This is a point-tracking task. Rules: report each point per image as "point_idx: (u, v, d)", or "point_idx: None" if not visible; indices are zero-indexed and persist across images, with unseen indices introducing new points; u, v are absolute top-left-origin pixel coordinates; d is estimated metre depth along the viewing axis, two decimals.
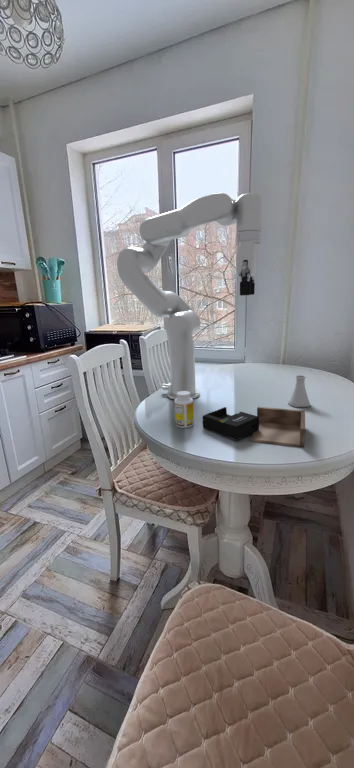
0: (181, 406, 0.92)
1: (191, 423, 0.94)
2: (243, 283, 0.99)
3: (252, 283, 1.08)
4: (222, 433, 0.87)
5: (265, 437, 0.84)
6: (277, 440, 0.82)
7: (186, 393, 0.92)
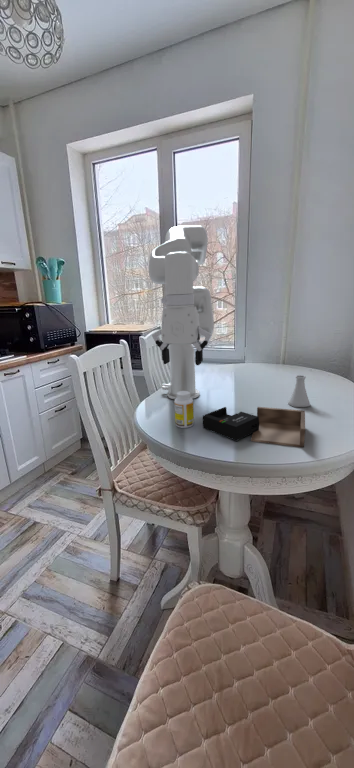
0: (181, 406, 0.92)
1: (191, 423, 0.94)
2: (201, 351, 0.87)
3: (168, 350, 0.92)
4: (222, 433, 0.87)
5: (265, 437, 0.84)
6: (277, 440, 0.82)
7: (186, 393, 0.92)
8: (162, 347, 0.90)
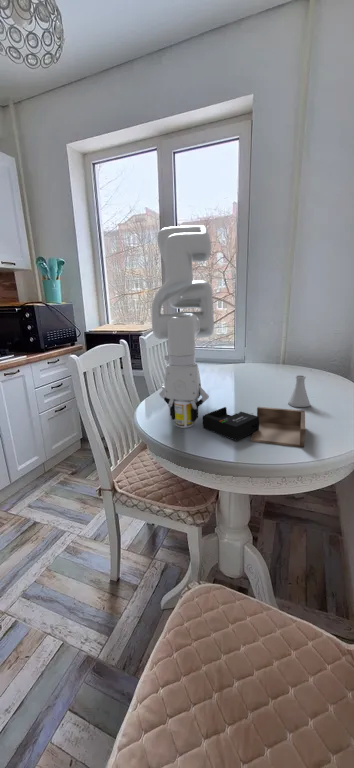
0: (181, 406, 0.92)
1: (191, 423, 0.94)
2: (196, 409, 0.93)
3: None
4: (222, 433, 0.87)
5: (265, 437, 0.84)
6: (277, 440, 0.82)
7: None
8: (170, 404, 0.94)
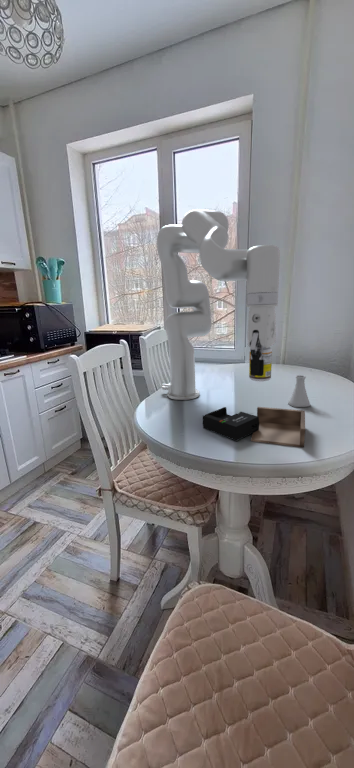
0: (271, 353, 0.80)
1: None
2: None
3: None
4: (222, 433, 0.87)
5: (265, 437, 0.84)
6: (277, 440, 0.82)
7: None
8: (262, 356, 0.78)
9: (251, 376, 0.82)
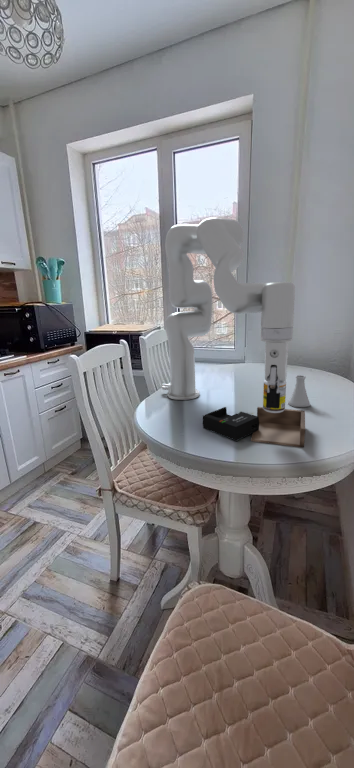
0: None
1: None
2: None
3: None
4: (222, 433, 0.87)
5: (265, 437, 0.84)
6: (277, 440, 0.82)
7: None
8: (278, 390, 0.78)
9: (266, 408, 0.82)
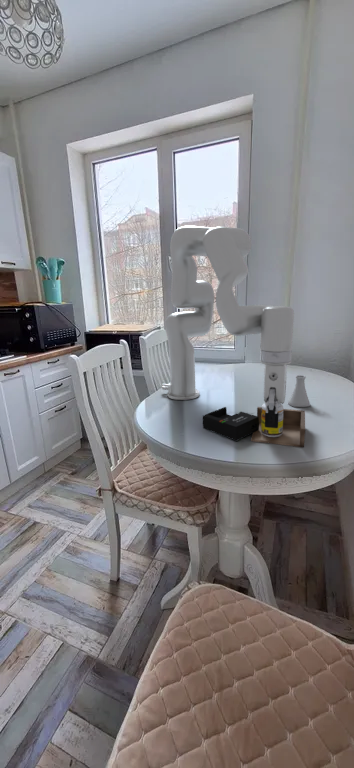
0: None
1: None
2: None
3: None
4: (222, 433, 0.87)
5: (265, 437, 0.84)
6: (277, 440, 0.82)
7: None
8: (277, 410, 0.79)
9: (264, 432, 0.84)
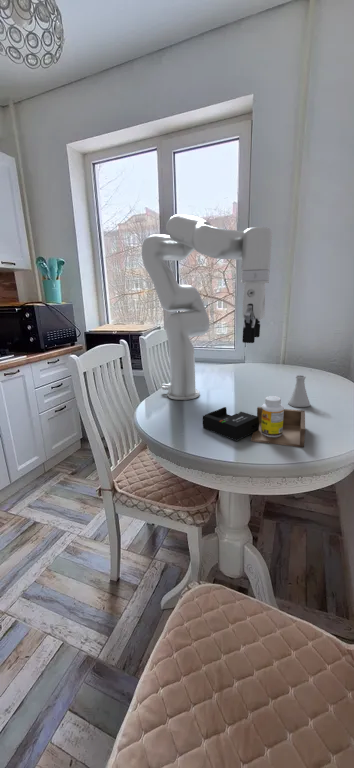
0: (283, 410, 0.83)
1: None
2: None
3: None
4: (222, 433, 0.87)
5: (265, 437, 0.84)
6: (277, 440, 0.82)
7: (275, 397, 0.84)
8: (253, 325, 0.86)
9: (264, 432, 0.84)
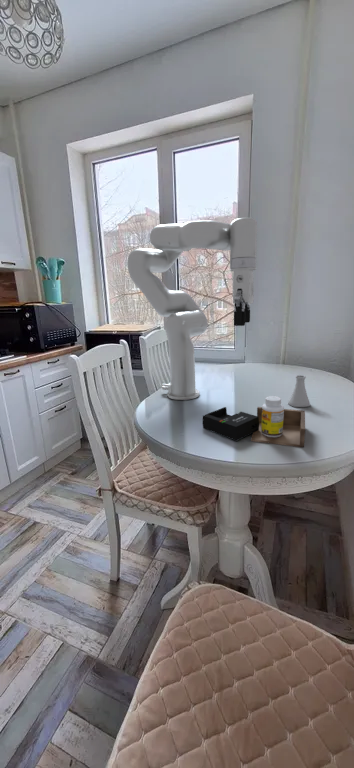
0: (283, 410, 0.83)
1: None
2: None
3: None
4: (222, 433, 0.87)
5: (265, 437, 0.84)
6: (277, 440, 0.82)
7: (275, 397, 0.84)
8: (243, 309, 0.92)
9: (264, 432, 0.84)
